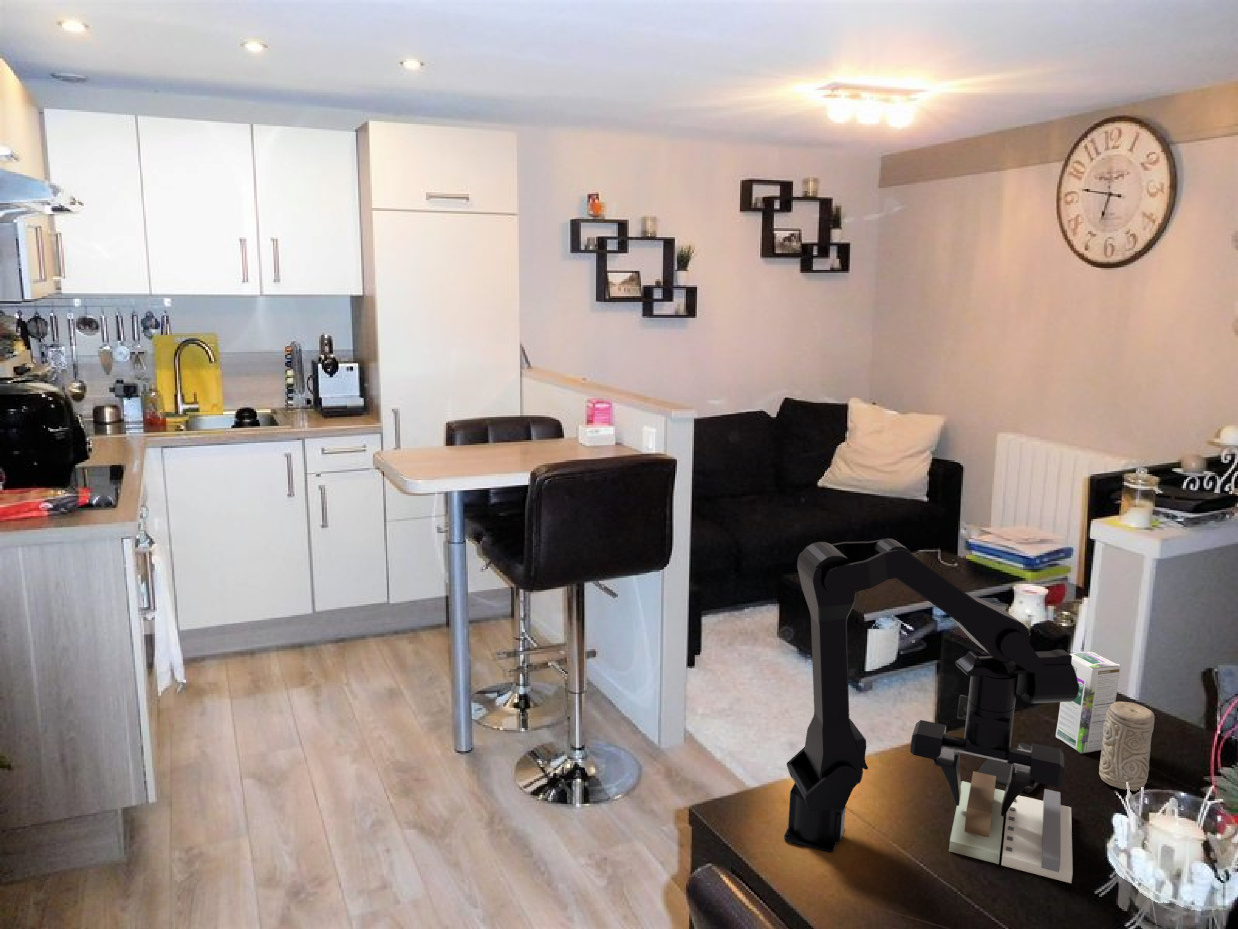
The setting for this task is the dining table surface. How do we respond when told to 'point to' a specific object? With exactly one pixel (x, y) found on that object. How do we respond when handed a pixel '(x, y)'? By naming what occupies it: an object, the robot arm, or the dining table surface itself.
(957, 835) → the green base with block
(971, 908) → the dining table surface
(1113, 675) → the syrup box
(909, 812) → the dining table surface
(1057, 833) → the notched base stand
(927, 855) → the dining table surface
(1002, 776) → the curved wedge
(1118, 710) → the carving
